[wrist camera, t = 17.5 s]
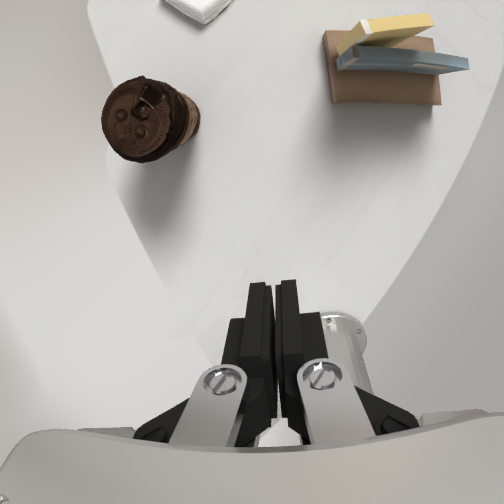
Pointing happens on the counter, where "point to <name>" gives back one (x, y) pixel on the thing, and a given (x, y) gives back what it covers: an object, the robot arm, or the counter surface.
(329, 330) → the robot arm
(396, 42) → the yellow flat slab
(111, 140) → the coffee cup
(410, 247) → the counter surface
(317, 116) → the counter surface
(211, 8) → the soap
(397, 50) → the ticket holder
